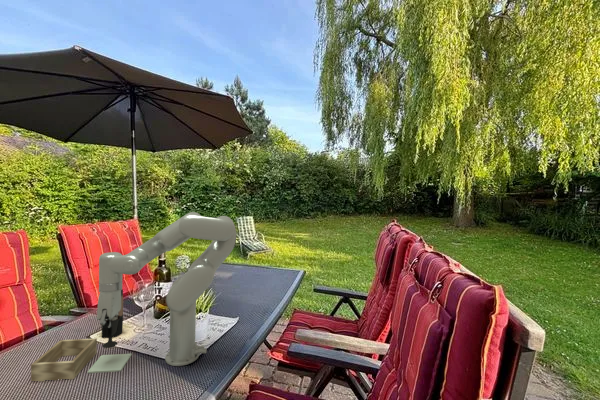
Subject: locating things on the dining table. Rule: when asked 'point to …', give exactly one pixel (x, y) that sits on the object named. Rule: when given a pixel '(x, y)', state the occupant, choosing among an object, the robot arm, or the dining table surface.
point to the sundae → (114, 328)
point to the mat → (110, 363)
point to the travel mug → (120, 322)
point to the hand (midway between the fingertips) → (110, 333)
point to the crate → (66, 369)
